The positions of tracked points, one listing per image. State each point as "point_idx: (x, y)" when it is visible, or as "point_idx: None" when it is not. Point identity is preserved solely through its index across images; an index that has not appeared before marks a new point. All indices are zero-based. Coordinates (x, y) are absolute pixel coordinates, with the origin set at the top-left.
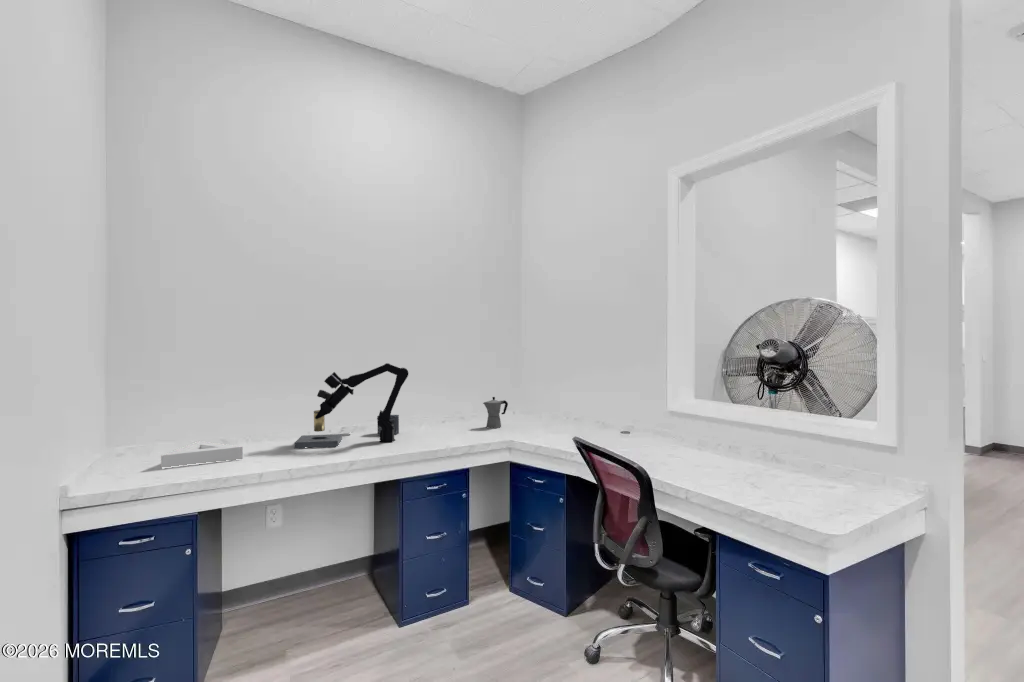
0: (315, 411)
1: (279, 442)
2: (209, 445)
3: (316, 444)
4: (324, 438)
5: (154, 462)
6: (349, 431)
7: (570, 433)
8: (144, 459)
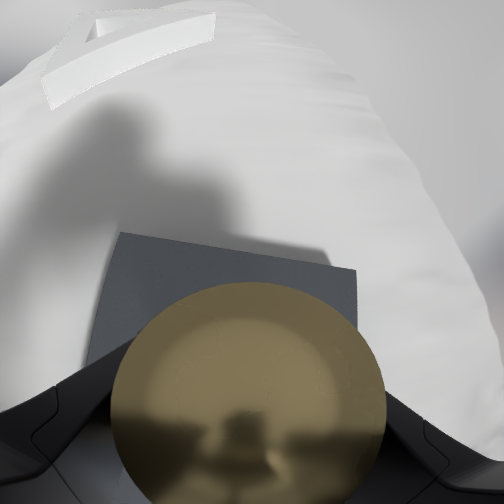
0: (152, 323)
1: (330, 185)
2: (128, 26)
3: None
4: None
5: None
6: None
7: None
8: (193, 10)
